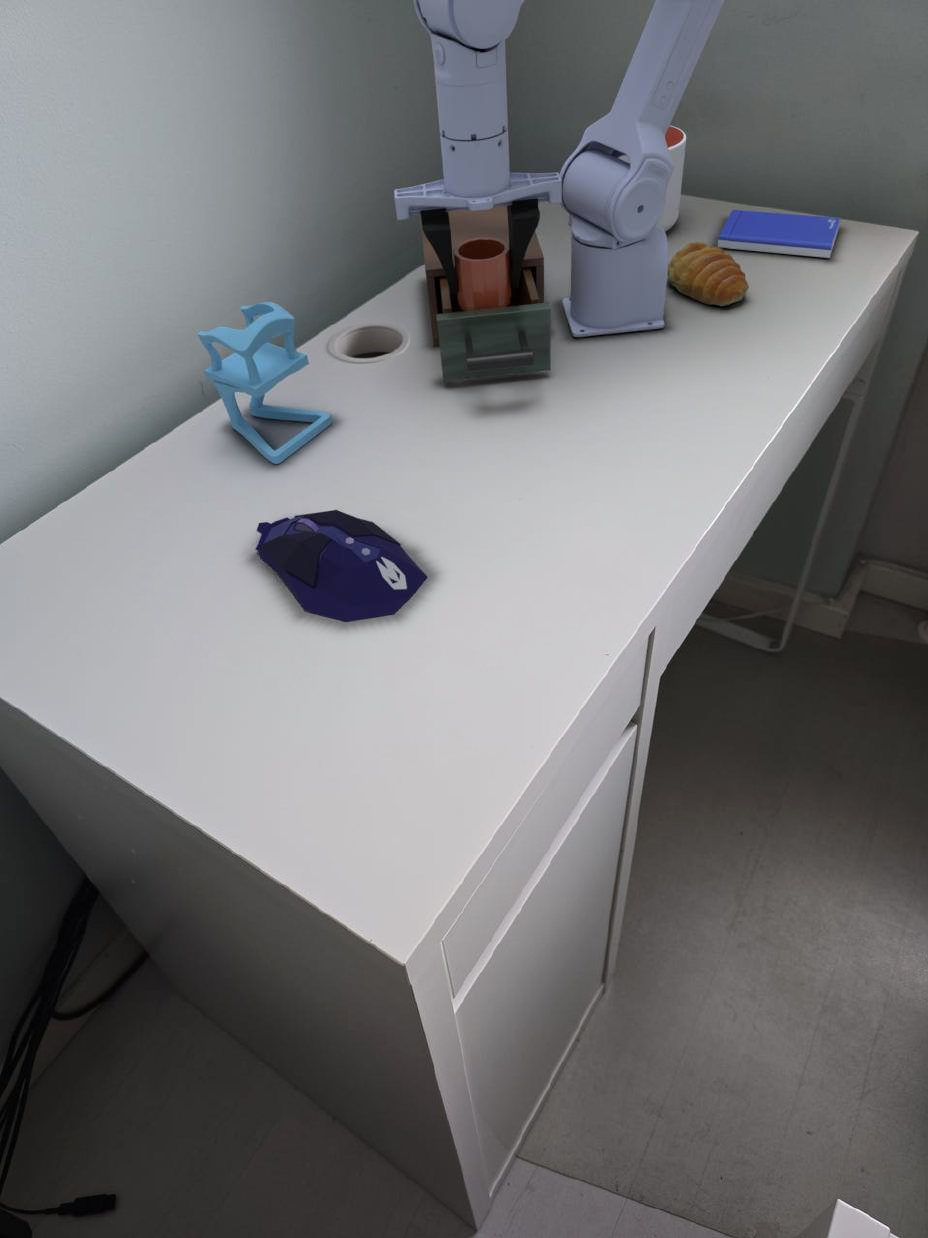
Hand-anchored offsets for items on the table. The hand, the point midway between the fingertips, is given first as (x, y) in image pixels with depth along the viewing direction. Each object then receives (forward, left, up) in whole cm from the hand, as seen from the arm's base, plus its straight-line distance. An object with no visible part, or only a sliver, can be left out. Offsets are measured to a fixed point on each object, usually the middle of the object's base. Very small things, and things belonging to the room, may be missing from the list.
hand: (483, 286), depth 82 cm
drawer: (0, 0, -7) cm, 7 cm away
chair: (+21, +9, -8) cm, 24 cm away
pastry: (-25, -10, -8) cm, 28 cm away
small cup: (0, 0, -1) cm, 1 cm away
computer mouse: (+15, +29, -8) cm, 33 cm away
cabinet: (-1, -11, -8) cm, 14 cm away
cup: (-21, -28, -8) cm, 36 cm away
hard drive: (-36, -20, -8) cm, 42 cm away
